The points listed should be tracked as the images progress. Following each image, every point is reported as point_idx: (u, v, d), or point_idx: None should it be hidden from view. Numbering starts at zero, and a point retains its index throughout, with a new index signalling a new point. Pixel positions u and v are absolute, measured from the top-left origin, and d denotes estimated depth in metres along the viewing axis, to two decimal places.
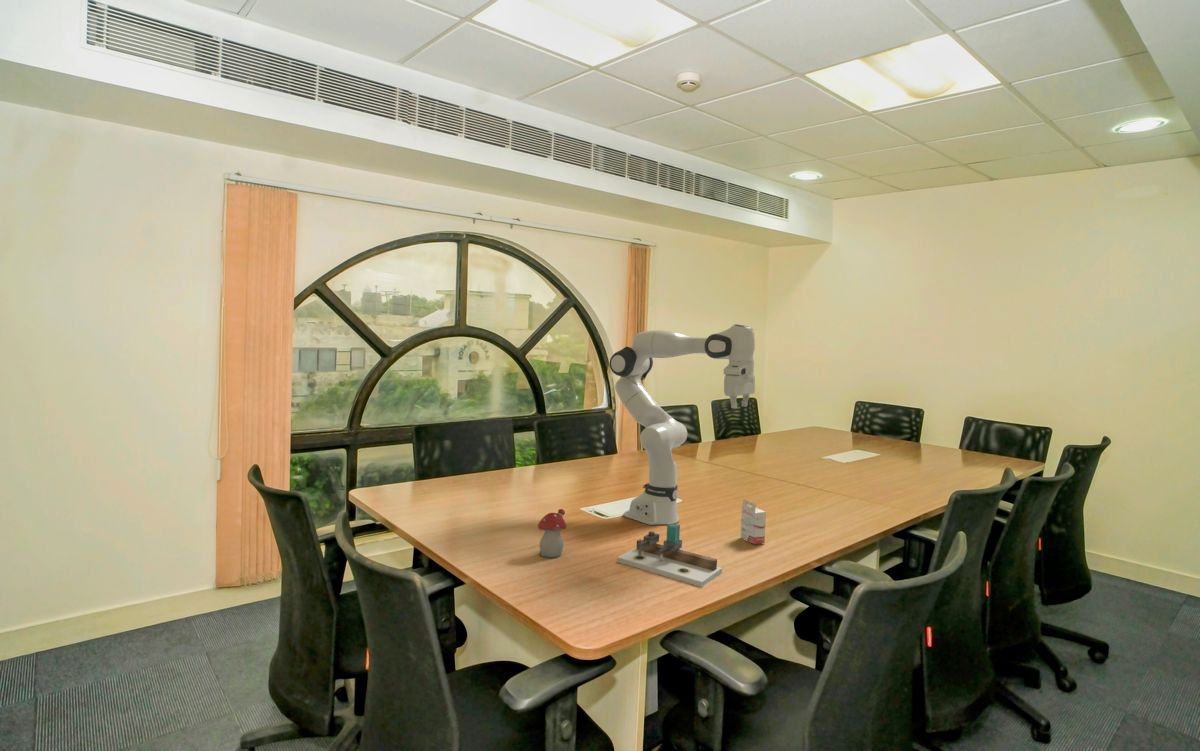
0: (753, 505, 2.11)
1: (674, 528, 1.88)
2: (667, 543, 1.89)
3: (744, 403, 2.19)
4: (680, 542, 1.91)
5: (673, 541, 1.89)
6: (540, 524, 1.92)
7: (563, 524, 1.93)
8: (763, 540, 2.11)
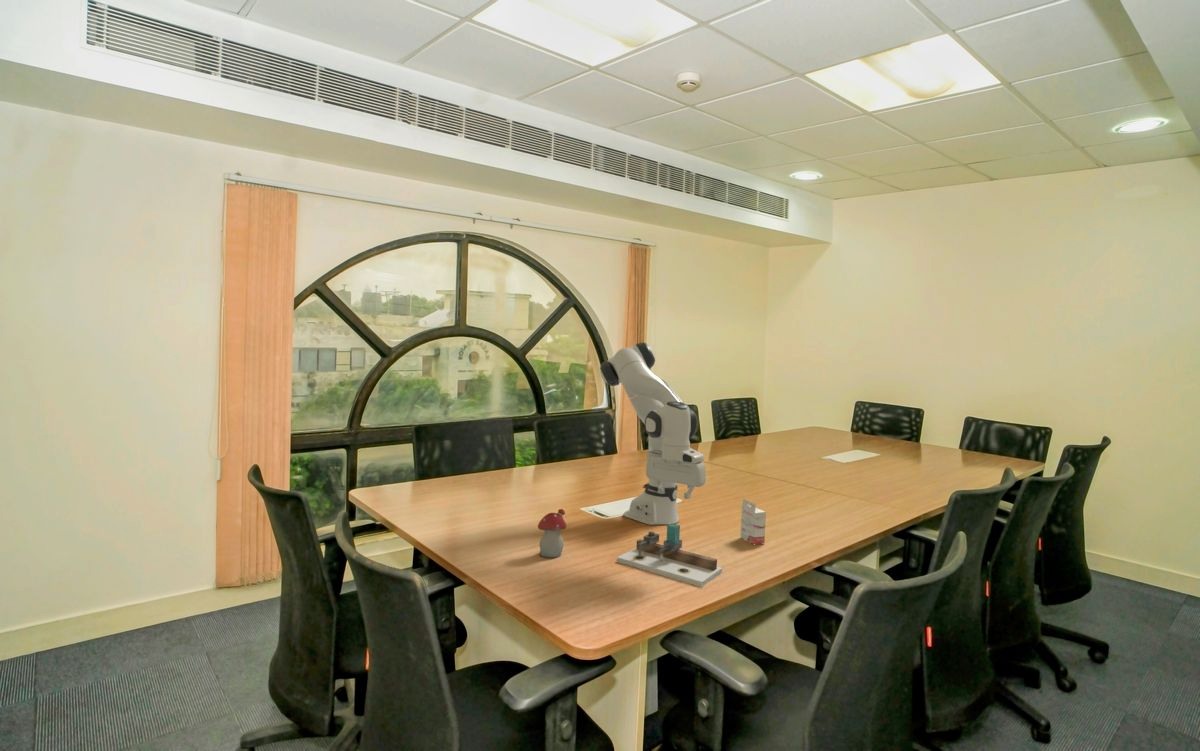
0: (753, 505, 2.11)
1: (674, 528, 1.88)
2: (667, 543, 1.89)
3: (663, 490, 1.92)
4: (680, 542, 1.91)
5: (673, 541, 1.89)
6: (540, 524, 1.92)
7: (563, 524, 1.93)
8: (763, 540, 2.11)
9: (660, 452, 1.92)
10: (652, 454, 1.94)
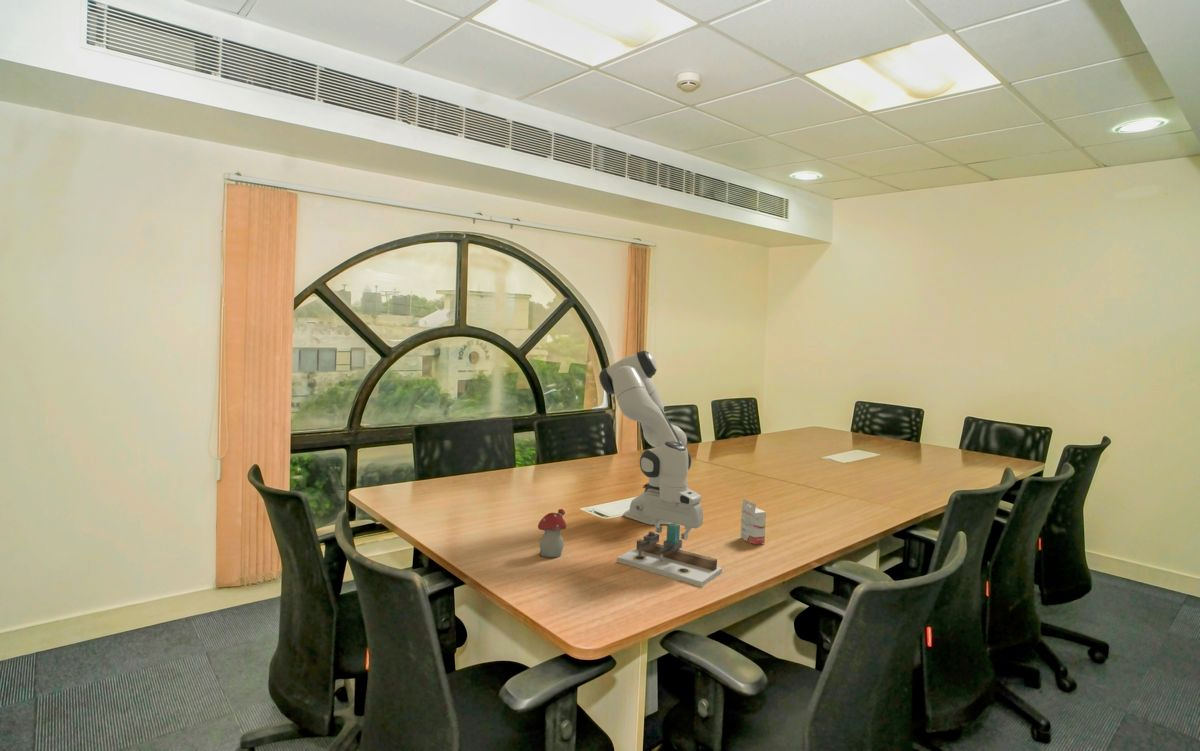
0: (753, 505, 2.11)
1: (674, 528, 1.88)
2: (667, 543, 1.89)
3: (661, 529, 1.93)
4: (680, 542, 1.91)
5: (673, 541, 1.89)
6: (540, 524, 1.92)
7: (563, 524, 1.93)
8: (763, 540, 2.11)
9: (658, 491, 1.92)
10: (650, 493, 1.94)
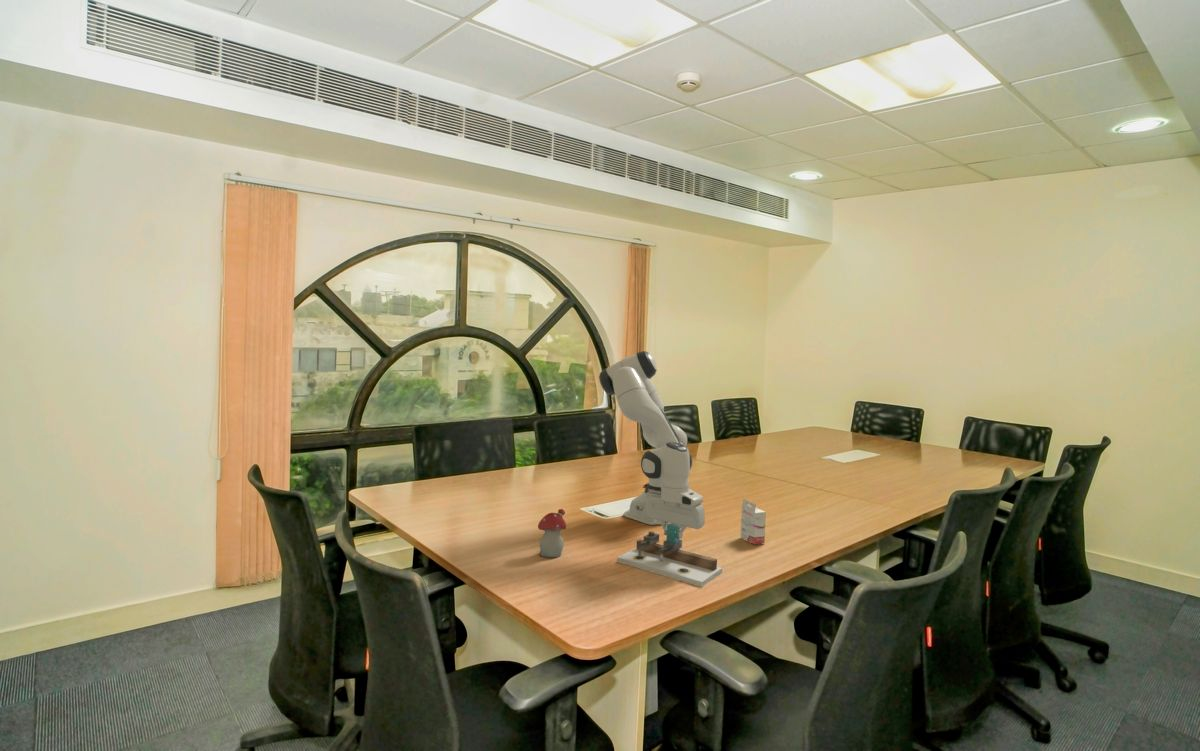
0: (753, 505, 2.11)
1: (674, 528, 1.88)
2: (667, 543, 1.89)
3: None
4: (680, 542, 1.91)
5: (673, 541, 1.89)
6: (540, 524, 1.92)
7: (563, 524, 1.93)
8: (763, 540, 2.11)
9: (659, 492, 1.92)
10: (651, 494, 1.94)
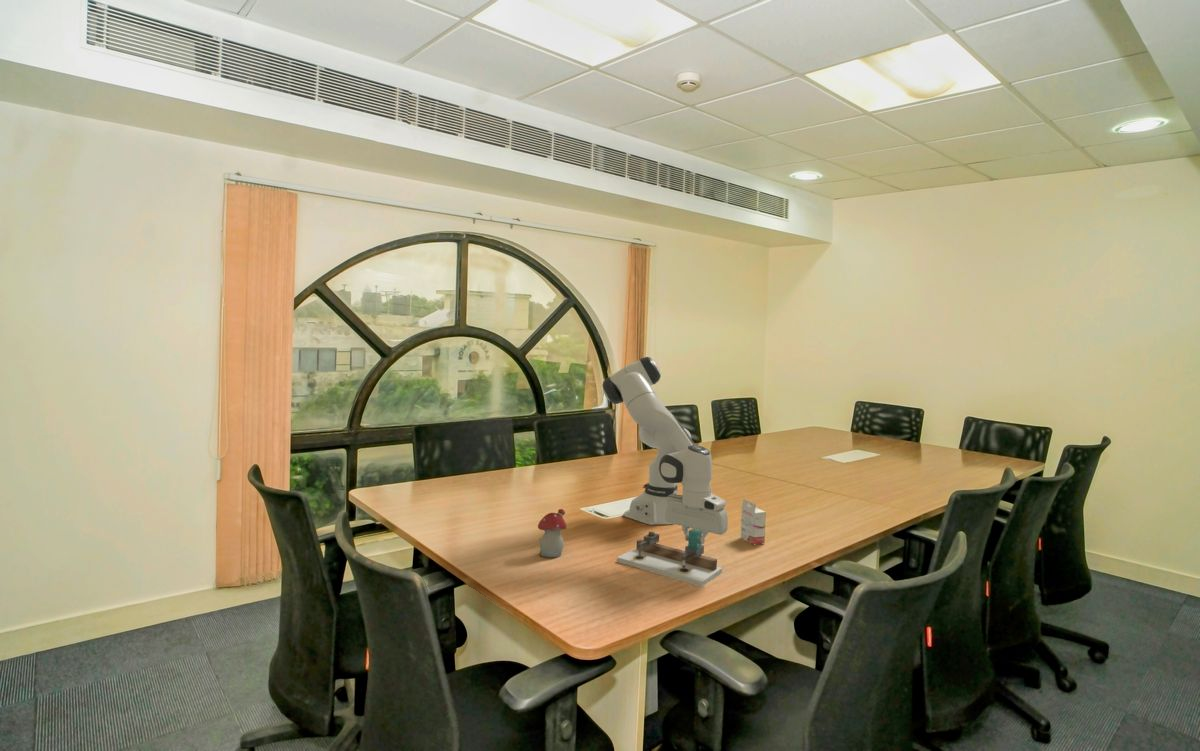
0: (753, 505, 2.11)
1: (696, 533, 1.84)
2: (689, 549, 1.84)
3: None
4: (702, 548, 1.86)
5: (695, 547, 1.84)
6: (540, 524, 1.92)
7: (563, 524, 1.93)
8: (763, 540, 2.11)
9: (680, 497, 1.88)
10: (672, 498, 1.90)
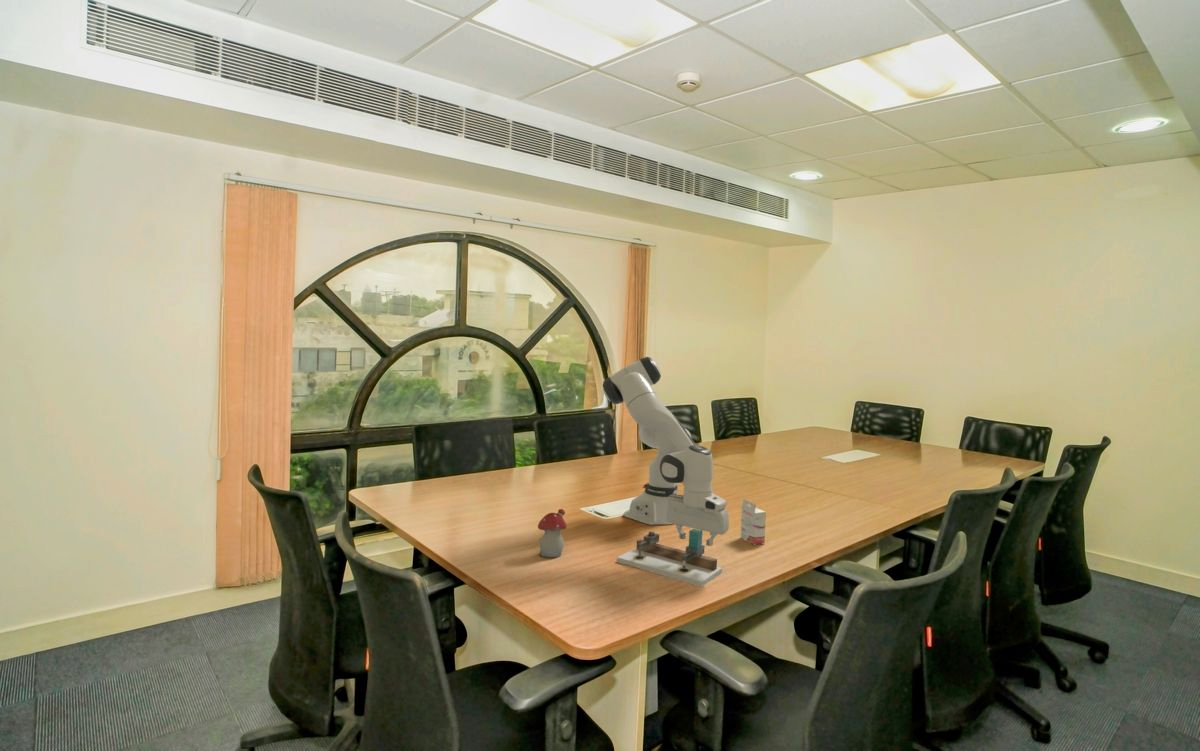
0: (753, 505, 2.11)
1: (696, 533, 1.84)
2: (689, 549, 1.84)
3: (684, 535, 1.88)
4: (702, 548, 1.86)
5: (696, 547, 1.84)
6: (540, 524, 1.92)
7: (563, 524, 1.93)
8: (763, 540, 2.11)
9: (681, 497, 1.88)
10: (673, 498, 1.90)
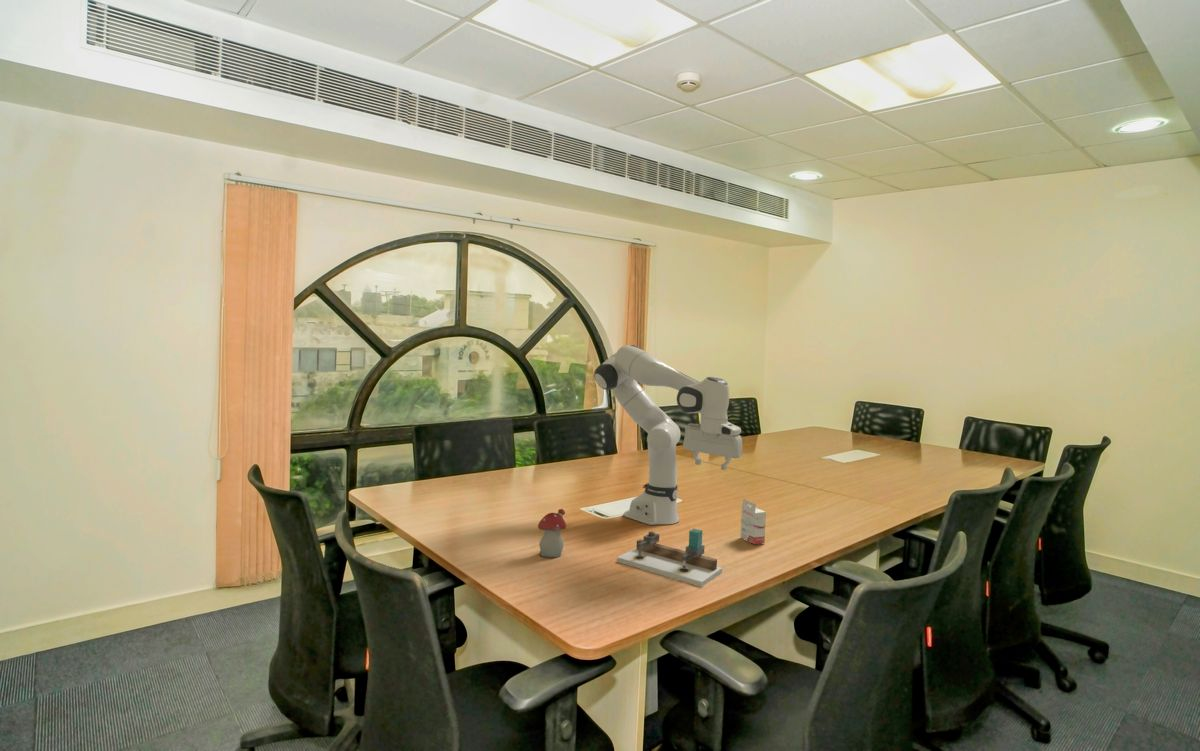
0: (753, 505, 2.11)
1: (696, 533, 1.84)
2: (689, 549, 1.84)
3: (700, 461, 2.02)
4: (702, 548, 1.86)
5: (696, 547, 1.84)
6: (540, 524, 1.92)
7: (563, 524, 1.93)
8: (763, 540, 2.11)
9: (698, 425, 2.01)
10: (690, 427, 2.03)
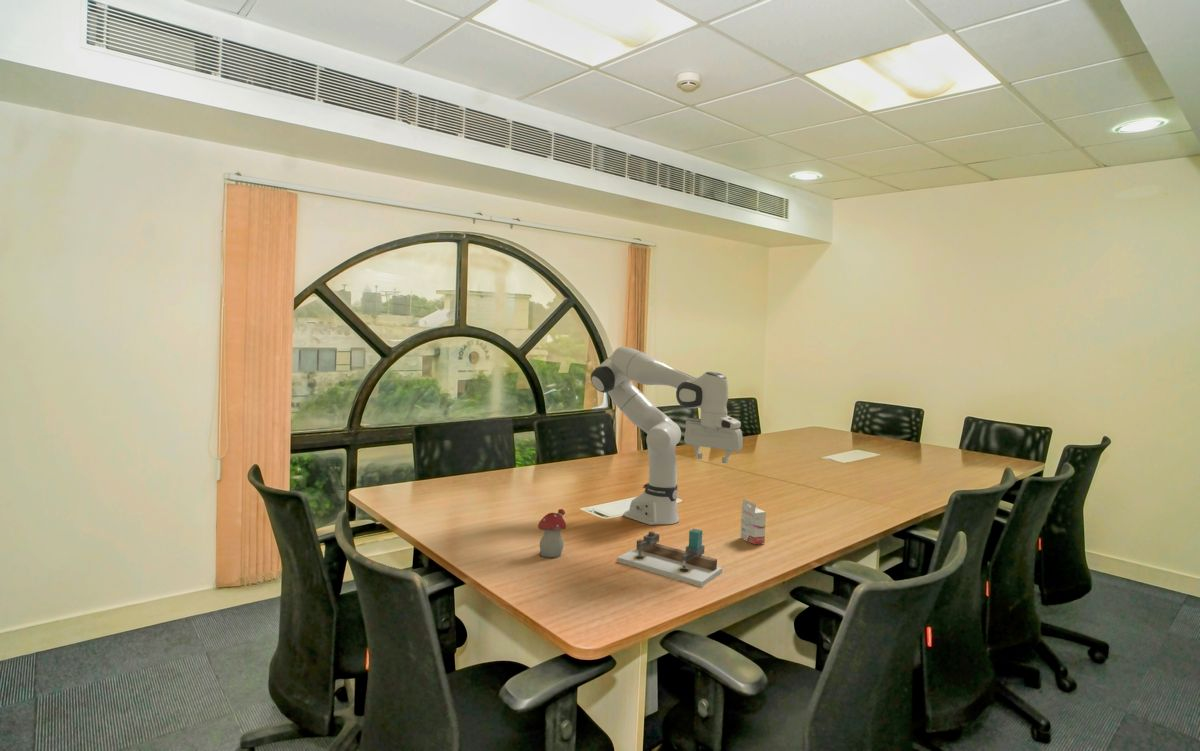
0: (753, 505, 2.11)
1: (696, 533, 1.84)
2: (689, 549, 1.84)
3: (701, 455, 2.04)
4: (702, 548, 1.86)
5: (696, 547, 1.84)
6: (540, 524, 1.92)
7: (563, 524, 1.93)
8: (763, 540, 2.11)
9: (698, 420, 2.03)
10: (690, 422, 2.05)
